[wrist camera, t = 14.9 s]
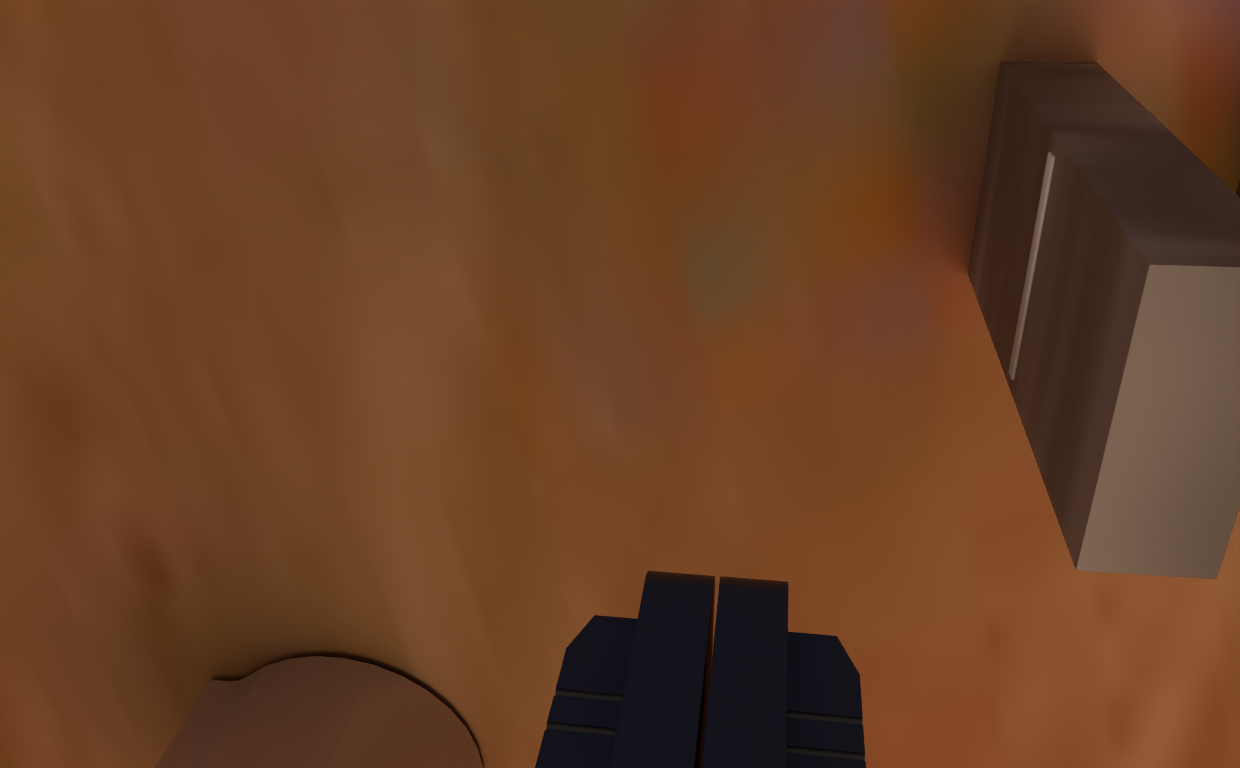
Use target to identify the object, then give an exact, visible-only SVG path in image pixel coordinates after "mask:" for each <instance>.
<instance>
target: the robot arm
mask: <svg viewBox="0 0 1240 768" xmlns="http://www.w3.org/2000/svg"><path fill="white" fill-rule="evenodd" d="M714 595H715V576H706V575H693V574H681V573H669V572H657V571H648V572H647V574H646V578H645V583H644V588H643V594H642V599H641V604H640V610H639V615H638V619H632V618H621V617H609V616H598V615H595V616H594V617H593V618H592V619H591V620H590V621H589V623H588V624H587V625H586V626H585V627H584V628H583V630H582V631H581V632H580V633H579V634H578V635H577V636H576V638H575V639H574V640H573V641H572V642H571V643H570V645H569V646H568V647H567V648H566V652H565V655H564V659H563V663H562V667H561V671H560V674H559V678H558V682H557V686H556V694H555V696H554V697H553V701H552V705H551V709H550V713H549V716H548V720H547V729H546V730H545V732H544V736H543V739H542V743H541V747H540V751H539V755H538V759H537V762H536V766H535V768H866V762H865V747H864V732H863V726H862V718H863V717H862V701H861V686H860V674H859V673H858V671H857V669H856V668H855V666H854V664H853V663H852V661H851V659H850V658H849V656H848V654H847V653H846V651H845V649H844V647H843V646H842V644H841V642H840V641H839V639H838V637H837V636H830V635H819V634H807V633H796V632H788V582H783V581H771V580H759V579H746V578H734V577H722V576H721V577H720V584H719V594H718V604H717V614H716V625H715V635H714V646H713V622H714ZM712 649H713V656H712ZM155 768H483V766H482V762H481V758H480V755H479V751H478V748H477V746H476V744H475V742H474V741H473V739H472V737H471V735H470V733H469V731H468V730H467V728H466V727H465V726H464V724H463V723H462V722H461V721H460V720H459V719H458V717H457V716H456V715H455V714H454V713H453V712H452V711H451V709H450V708H449V707H447V706H446V705H445V704H444V703H442V702H441V701H440V700H439V699H437V698H436V697H435V696H434V695H433V694H431V693H430V692H429V691H427V690H426V689H424V688H422V687H421V686H419V685H417V684H415V683H414V682H412V681H410V680H408V679H407V678H405V677H403V676H401V675H398V674H396V673H393V672H391V671H388V670H386V669H383V668H381V667H378V666H376V665H372V664H368V663H364V662H359V661H355V660H351V659H346V658H336V657H322V656H311V657H301V658H291V659H286V660H283V661H280V662H277V663H273V664H270V665H267V666H264V667H263V668H261V669H259V670H258V671H256V672H254V673H252V674H251V675H249V676H247V677H245V678H243V679H241V680H239V681H219V680H212V681H210V682H209V683H208V684H207V686H206V687H205V689H204V691H203V692H202V694H201V695H200V697H199V699H198V700H197V702H196V703H195V705H194V706H193V708H192V710H191V711H190V713H189V714H188V716H187V718H186V719H185V721H184V722H183V724H182V726H181V727H180V729H179V730H178V732H177V734H176V735H175V737H174V738H173V740H172V742H171V743H170V745H169V746H168V748H167V750H166V751H165V753H164V754H163V756H162V757H161V759H160V761H159V762H158V764H157V765H156V767H155Z"/></svg>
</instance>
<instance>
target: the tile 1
mask: <svg viewBox="0 0 1240 768" xmlns="http://www.w3.org/2000/svg"><path fill="white" fill-rule="evenodd" d="M969 278H970V281H971V283H972V286H973V289H974V292H975V294H976V297H977V300H978V303H979V305H980V308H981V311H982V313H983V316H984V319H985V322H986V324H987V327H988V330H989V333H990V335H991V338H992V341H993V344H994V346H995V349H996V352H997V355H998V357H999V360H1000V363H1001V366H1002V368H1003V371H1004V374H1005V377H1006V379H1007V382H1008V385H1009V388H1010V390H1011V393H1012V396H1013V399H1014V401H1015V404H1016V407H1017V409H1018V412H1019V415H1020V418H1021V420H1022V423H1023V426H1024V429H1025V431H1026V434H1027V437H1028V440H1029V442H1030V445H1031V448H1032V451H1033V453H1034V456H1035V459H1036V462H1037V464H1038V467H1039V470H1040V473H1041V475H1042V478H1043V481H1044V484H1045V486H1046V489H1047V492H1048V495H1049V497H1050V500H1051V503H1052V506H1053V508H1054V511H1055V514H1056V516H1057V519H1058V522H1059V525H1060V527H1061V530H1062V533H1063V536H1064V538H1065V541H1066V544H1067V547H1068V549H1069V552H1070V555H1071V558H1072V560H1073V563H1074V566H1075V569H1076V570H1081V571H1096V572H1111V573H1127V574H1142V575H1157V576H1172V577H1188V578H1203V579H1217V576H1218V572H1219V569H1220V566H1221V563H1222V560H1223V557H1224V554H1225V551H1226V548H1227V545H1228V542H1229V539H1230V535H1231V532H1232V529H1233V526H1234V523H1235V520H1236V517H1237V514H1238V511H1239V508H1240V197H1239V196H1238V195H1237V194H1236V193H1235V192H1234V191H1232V190H1231V189H1230V188H1229V187H1228V186H1227V185H1226V184H1225V183H1224V182H1223V181H1222V180H1221V179H1220V178H1219V177H1218V176H1217V175H1215V174H1214V173H1213V172H1212V171H1211V170H1210V169H1209V168H1208V167H1207V166H1206V165H1205V164H1204V163H1203V162H1202V161H1201V160H1200V159H1199V158H1197V157H1196V156H1195V155H1194V154H1193V153H1192V152H1191V151H1190V150H1189V149H1188V148H1187V147H1186V146H1185V145H1184V144H1183V143H1182V142H1180V141H1179V140H1178V139H1177V138H1176V137H1175V136H1174V135H1173V134H1172V133H1171V132H1170V131H1169V130H1168V129H1167V128H1166V127H1165V126H1163V125H1162V124H1161V123H1160V122H1159V121H1158V120H1157V119H1156V118H1155V117H1154V116H1153V115H1152V114H1151V113H1150V112H1149V111H1148V110H1147V109H1145V108H1144V107H1143V106H1142V105H1141V104H1140V103H1139V102H1138V101H1137V100H1136V99H1135V98H1134V97H1133V96H1132V95H1131V94H1130V93H1128V92H1127V91H1126V90H1125V89H1124V88H1123V87H1122V86H1121V85H1120V84H1119V83H1118V82H1117V81H1116V80H1115V79H1114V78H1113V77H1112V76H1110V75H1109V74H1108V73H1107V72H1106V71H1105V70H1104V69H1103V68H1102V67H1101V66H1100V65H1099V64H1098V63H1006V62H1001V64H1000V71H999V77H998V84H997V91H996V97H995V104H994V110H993V117H992V124H991V130H990V137H989V143H988V150H987V157H986V163H985V170H984V176H983V183H982V190H981V196H980V203H979V209H978V216H977V223H976V229H975V236H974V242H973V249H972V256H971V262H970V269H969Z"/></svg>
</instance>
